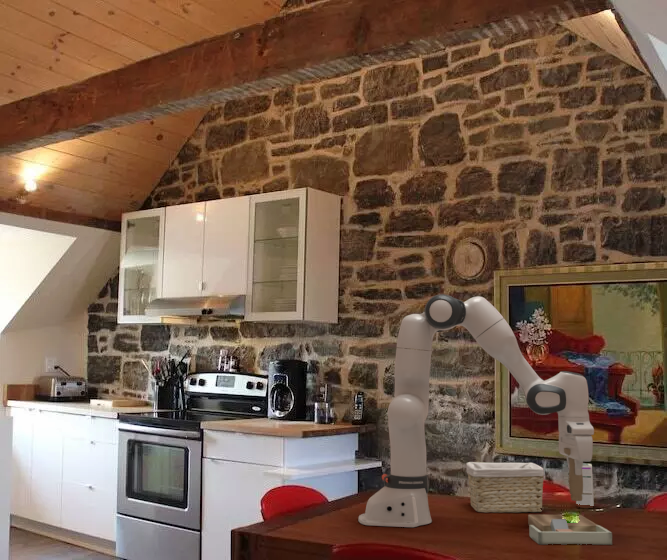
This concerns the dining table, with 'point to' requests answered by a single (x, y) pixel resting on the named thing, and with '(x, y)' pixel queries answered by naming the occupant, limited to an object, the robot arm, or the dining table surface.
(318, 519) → the dining table surface
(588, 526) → the square wooden board
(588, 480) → the syrup box
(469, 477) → the storage basket
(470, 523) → the dining table surface
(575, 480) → the handle
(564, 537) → the tray
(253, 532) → the dining table surface
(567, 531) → the tile
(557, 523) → the tile
